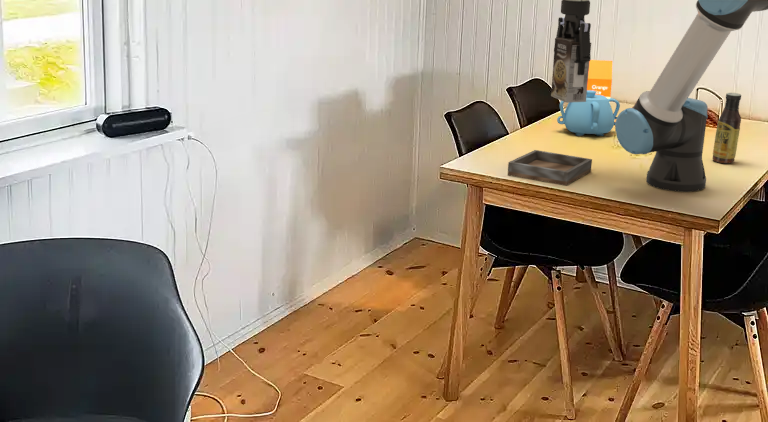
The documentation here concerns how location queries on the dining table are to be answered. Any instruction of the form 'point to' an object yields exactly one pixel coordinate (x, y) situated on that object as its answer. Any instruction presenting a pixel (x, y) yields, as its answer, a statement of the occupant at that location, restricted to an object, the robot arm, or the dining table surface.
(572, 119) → the decorative pot
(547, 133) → the dining table surface
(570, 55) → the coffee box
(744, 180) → the dining table surface
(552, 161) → the tray
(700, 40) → the robot arm
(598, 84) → the orange juice
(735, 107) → the sauce bottle
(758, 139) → the dining table surface
